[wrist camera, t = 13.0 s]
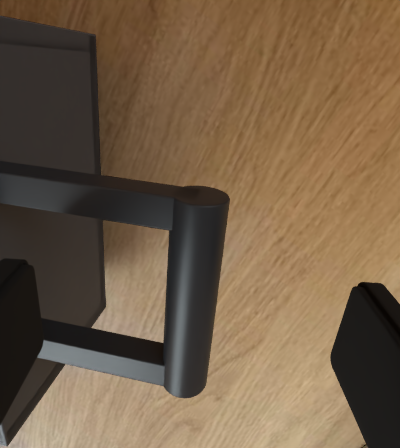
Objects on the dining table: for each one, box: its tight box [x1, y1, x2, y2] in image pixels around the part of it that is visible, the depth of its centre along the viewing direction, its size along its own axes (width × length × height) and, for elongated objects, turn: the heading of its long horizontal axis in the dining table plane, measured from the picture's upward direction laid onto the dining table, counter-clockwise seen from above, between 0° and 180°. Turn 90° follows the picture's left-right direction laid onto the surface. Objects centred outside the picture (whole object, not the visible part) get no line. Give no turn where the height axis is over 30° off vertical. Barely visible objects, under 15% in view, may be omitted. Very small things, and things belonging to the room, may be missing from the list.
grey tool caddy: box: [0, 16, 230, 446], centre depth 15 cm, size 18×15×9 cm
